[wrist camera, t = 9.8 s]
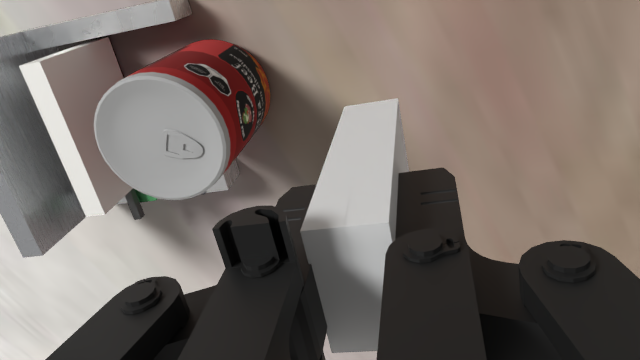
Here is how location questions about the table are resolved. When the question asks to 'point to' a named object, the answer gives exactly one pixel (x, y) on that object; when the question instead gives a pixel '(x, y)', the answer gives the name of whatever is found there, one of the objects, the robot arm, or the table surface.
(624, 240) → the table surface
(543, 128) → the table surface
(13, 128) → the frame
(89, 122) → the white flat block
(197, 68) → the canned food
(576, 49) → the table surface
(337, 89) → the table surface
